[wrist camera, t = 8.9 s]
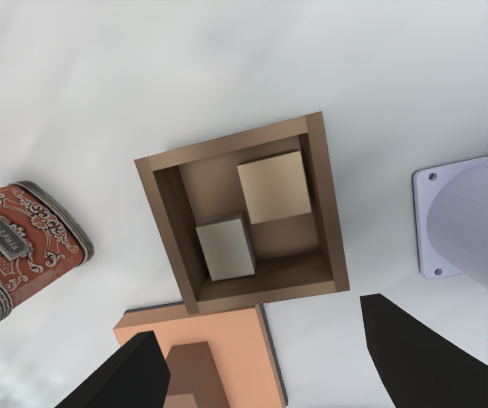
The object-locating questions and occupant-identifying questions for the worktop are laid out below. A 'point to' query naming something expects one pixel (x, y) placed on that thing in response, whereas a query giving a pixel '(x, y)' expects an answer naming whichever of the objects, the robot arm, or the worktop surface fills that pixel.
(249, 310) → the lid
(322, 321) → the worktop surface
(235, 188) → the box
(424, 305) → the worktop surface
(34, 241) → the ornate red tin
